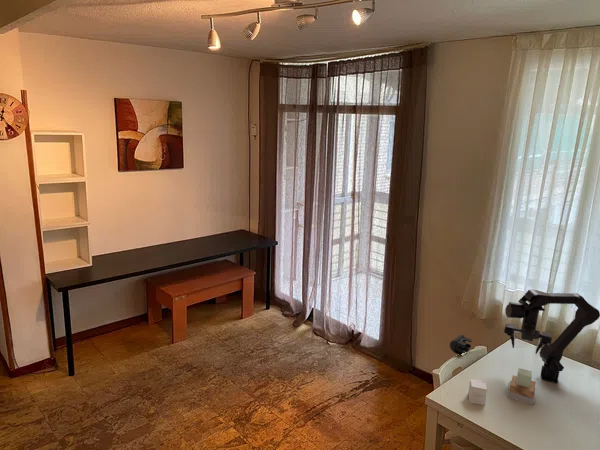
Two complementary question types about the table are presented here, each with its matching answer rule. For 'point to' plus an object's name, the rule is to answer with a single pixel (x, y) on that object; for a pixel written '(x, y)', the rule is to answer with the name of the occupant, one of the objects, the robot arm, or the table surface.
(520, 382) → the green cube
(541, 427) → the table surface
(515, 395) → the bottom slab
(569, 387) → the table surface
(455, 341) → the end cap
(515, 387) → the top slab
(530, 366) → the table surface
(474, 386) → the product box
